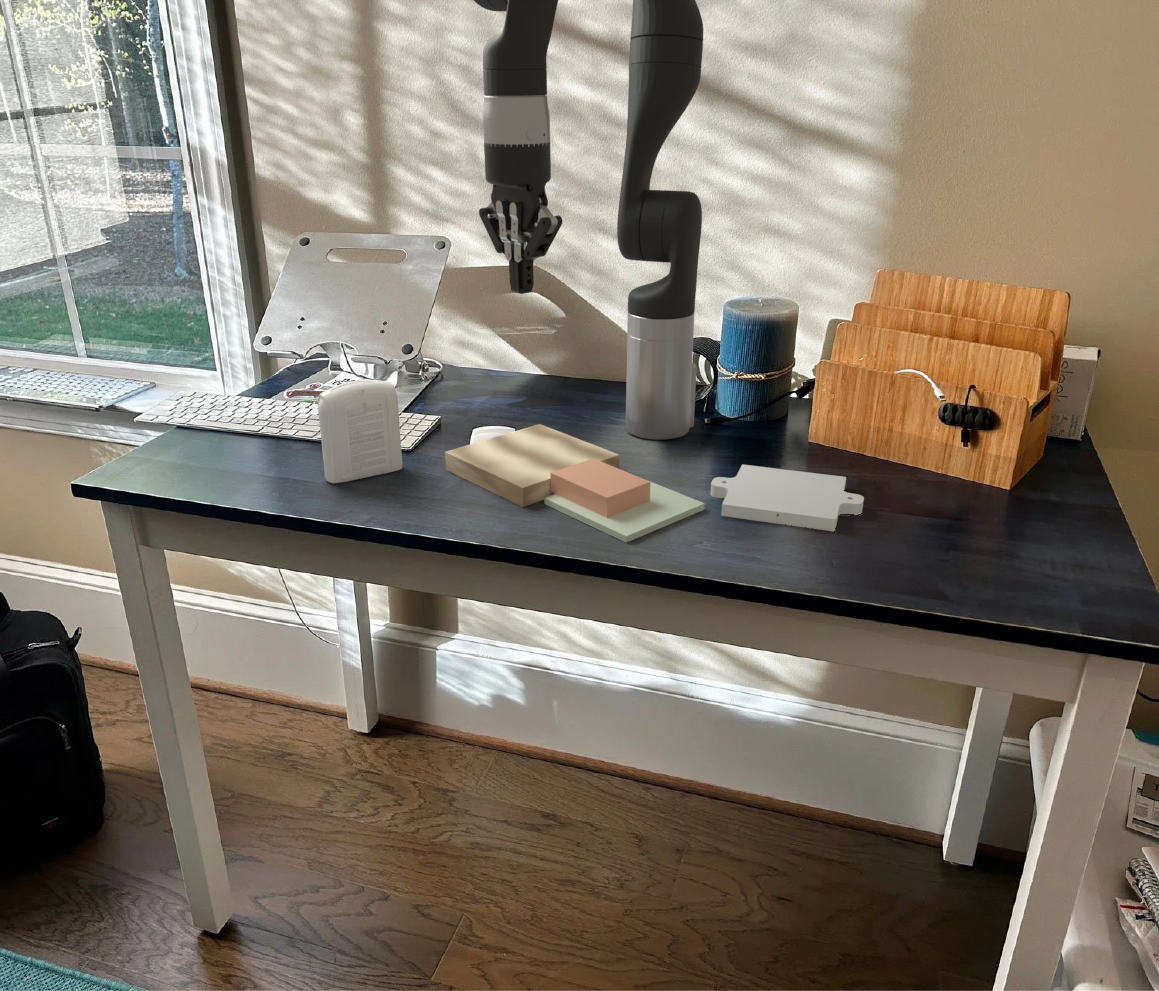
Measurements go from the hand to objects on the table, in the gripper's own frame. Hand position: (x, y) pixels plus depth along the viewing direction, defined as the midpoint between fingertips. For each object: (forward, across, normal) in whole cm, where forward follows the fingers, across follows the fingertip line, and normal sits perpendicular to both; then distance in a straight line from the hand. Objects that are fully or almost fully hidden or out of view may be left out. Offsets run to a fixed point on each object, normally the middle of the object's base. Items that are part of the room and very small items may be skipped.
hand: (521, 291), depth 115 cm
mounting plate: (+24, -29, -16) cm, 41 cm away
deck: (+23, -1, 0) cm, 23 cm away
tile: (+22, -14, 0) cm, 26 cm away
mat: (+23, -17, -1) cm, 29 cm away
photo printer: (+24, +14, +16) cm, 31 cm away
